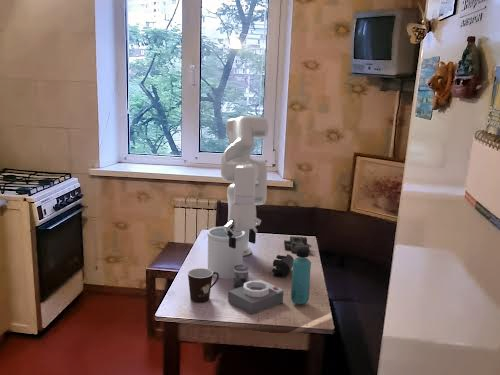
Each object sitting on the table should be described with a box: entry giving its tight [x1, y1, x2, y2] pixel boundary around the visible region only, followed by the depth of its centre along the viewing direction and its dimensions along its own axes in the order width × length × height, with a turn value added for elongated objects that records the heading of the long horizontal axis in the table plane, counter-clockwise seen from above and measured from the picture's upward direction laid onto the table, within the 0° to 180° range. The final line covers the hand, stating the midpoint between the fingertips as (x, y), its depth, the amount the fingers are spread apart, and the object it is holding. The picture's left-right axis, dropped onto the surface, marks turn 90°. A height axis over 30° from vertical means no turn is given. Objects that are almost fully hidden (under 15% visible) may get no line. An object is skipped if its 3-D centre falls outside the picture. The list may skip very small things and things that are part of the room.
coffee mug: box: [187, 267, 220, 304], centre depth 157 cm, size 12×9×10 cm
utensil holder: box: [206, 225, 245, 279], centre depth 180 cm, size 15×15×18 cm
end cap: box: [272, 253, 295, 278], centre depth 184 cm, size 10×7×7 cm
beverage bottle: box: [290, 248, 312, 305], centre depth 155 cm, size 6×7×20 cm
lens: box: [233, 264, 249, 289], centre depth 168 cm, size 5×5×8 cm
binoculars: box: [283, 235, 310, 255], centre depth 215 cm, size 11×16×6 cm
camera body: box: [227, 278, 285, 315], centre depth 157 cm, size 12×15×6 cm
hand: (242, 245), depth 165 cm, fingers open, 9 cm apart
